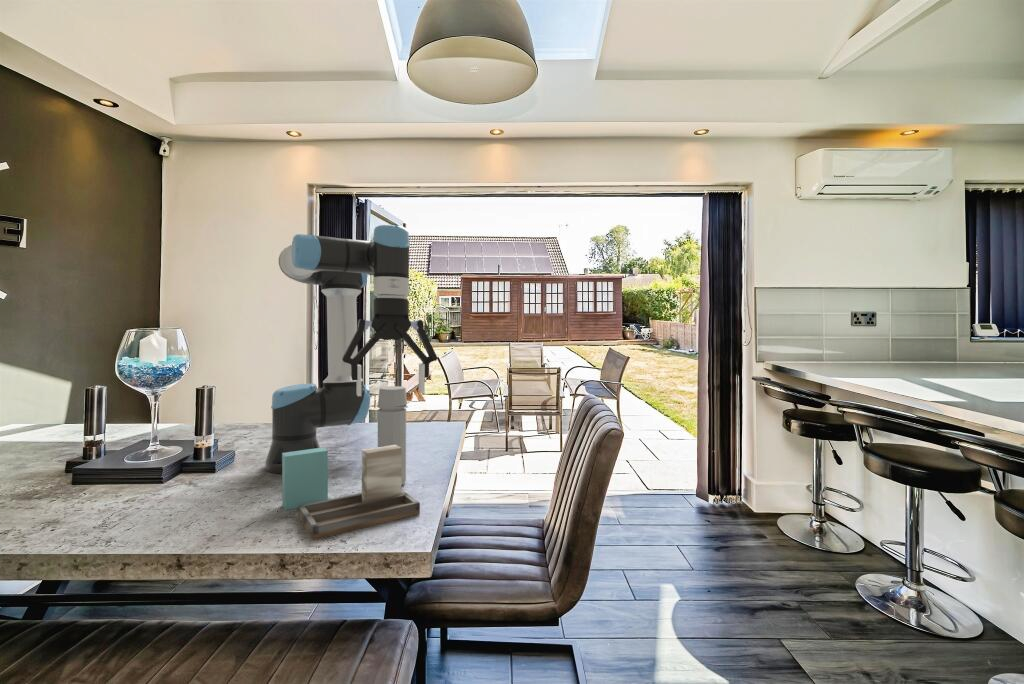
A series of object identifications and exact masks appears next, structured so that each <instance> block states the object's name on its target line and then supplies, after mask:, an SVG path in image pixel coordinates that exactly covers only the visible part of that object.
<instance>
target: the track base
mask: <svg viewBox="0 0 1024 684" xmlns="http://www.w3.org/2000/svg"><path fill="white" fill-rule="evenodd" d="M401 461H402V448H401V447H399V446H397V445H390V446H384V447H378V446H377V447H372V448H371V447H370V448H364V449H361V492H359V493H355V494H351V495H350V494H349V495H344V496H339V497H334V498H330V499H329V498H328V500H324V501H319V502H314V503H309V504H304V505H299V506H298V508H297V510H298V511H297V512H298V515H297V517H298V520H299V521H300V522H301V524H302V525H303V526H304V528H305V529H306V532H307V533H308V534H309V535H310V536H309V537H310V538H311V539H312V540H313V541H315V540H318V539H319V540H320V539H323V538H326V537H331V536H336V535H340V534H343V533H347V532H351V531H357V530H359V529H364V528H368V527H373V526H375V525H380V524H383V523H384V524H385V523H388V522H389V523H390V522H393V521H396V520H397V521H398V520H401V519H405V518H409V517H414V516H416V515H420V514H421V503H420V502H419V501H418V500H417V499H415V498H414V497H413V496H412V495H410V494H409V493H407V492H406V491H405V490H403V489H402V485H401Z"/></svg>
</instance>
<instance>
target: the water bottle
mask: <svg viewBox="0 0 1024 684" xmlns="http://www.w3.org/2000/svg"><path fill="white" fill-rule="evenodd" d="M407 398H408V397H407V389H406V387H405V386H400V385H398V386H397V385H395V386H391V385H390V386H382V387H379V391H378V401H377V405H376V408H378V410H377V447H384V446H390V445H397V446H399V447H401V448H402V461H401V486H404V484H405V483H406V481H407V408H408V407H409V406H408V405H407V404H408V399H407Z"/></svg>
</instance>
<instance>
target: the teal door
mask: <svg viewBox="0 0 1024 684" xmlns="http://www.w3.org/2000/svg"><path fill="white" fill-rule="evenodd" d="M328 453H329V451H328V449H326V448H325V447H320V448H315V449H308V450H300V451H293V452H286V453H282V473H281V475H282V478H281V479H282V480H281V481H282V485H281V487H282V490H281V491H282V496H281V497H282V498H281V499H282V501H281V502H282V505H281V506H283V509H284V511H289V510H295V509H298V506H299V505H304V504H309V503H314V502H319V501H324V500H329V497H328V496H329V493H328V491H329V490H328V487H329V486H328V485H329V484H328V482H329V481H328V480H329V479H328V476H329V475H328V474H329V473H328V469H329V468H328V467H329V465H328V462H329V461H328V456H329V454H328Z"/></svg>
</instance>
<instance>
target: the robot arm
mask: <svg viewBox="0 0 1024 684" xmlns="http://www.w3.org/2000/svg"><path fill="white" fill-rule="evenodd" d="M409 234H410V233H409V230H408V229H407V228H406V227H404V226H402V225H401V226H400V225H394V224H381V225H377V226H375V227H374V229H373V237H372V240H373V241H372V240H362V239H350V238H340V237H339V238H337V237H331V236H322V235H314V234H311V233H310V234H302V233H301V234H299V233H297V234H295V235H294V236H293V237H292V243H291V245H289V246H287V247H285V248H284V249H282V251H281V252H280V253H279V256H278V266H279V269H280V270H281V272H282V274H284V276H286V277H288V278H289V279H290V280H292V281H296V282H299V283H302V284H306V285H316V286H318V285H319V286H320V290H321V293H322V294H323V296H325V297H326V324H327V326H326V327H327V328H326V329H327V330H326V331H327V332H326V333H327V373H328V375H327V377H326V378H325V379H324V380H323V381H322V387H318V386H317V385H316V384H315V383H314V382H313V383H312V382H310V383H308V382H307V383H300V384H293V385H289V386H288V385H287V386H284V387H281V388H278V389H276V390H275V391H274V392H273V393H272V398H271V406H270V407H271V411H272V413H271V416H272V418H271V419H272V420H271V421H272V422H271V425H272V426H271V427H272V428H271V431H272V432H271V435H272V437H271V439H272V440H271V444H270V447H269V450H268V453H267V456H266V459H265V462H264V463H265V471H266V472H269V473H273V474H282V453H286V452H293V451H300V450H308V449H315V448H321V447H320V444H319V441H318V439H317V429H319V428H327V427H329V428H330V427H336V426H337V427H338V426H351V425H355V424H361V423H362V422H364V421H365V420H366V419H367V417H368V414H369V410H370V406H371V394H370V391H371V390H370V388H369V385H366V384H364V379H363V378H362V365H361V364H359V363H360V362H361V361H362V359H364V357H366V355H367V354H368V353H369V352H370V350H371V349H372V348H373V347H374V346H375V345H376V343H378V341H380V340H383V341H390V340H394V341H399V340H401V339H402V340H403V341H404V342H405V344H406V345H408V347H409V348H410V350H412V352H414V354H415V355H416V357H418V358H419V360H420V361H421V362H420V363H418V392H419V393H420V394H425V383H426V382H425V379H426V378H427V379H428V378H429V376H430V364H431V363H432V362H436V361H438V356H437V354H436V352H435V349H434V348H433V345H432V343H431V341H430V339H429V337H428V335H427V334H426V331H425V327H424V321H423V319H417V320H413V321H410V314H409V313H410V311H409V310H410V309H409V307H410V301H409V299H408V298H407V297H409V295H410V293H409V291H410V289H409V287H410V286H409V285H410V282H409V281H410V275H409V274H410V246H411V244H410V236H409ZM368 275H369V276H373V296H375V298H374V299H373V318H372V320H367V319H366V320H365V319H364V318H362V319H361V318H360V319H358V318H357V317H358V316H357V315H358V313H357V299H358V298H357V297H358V296H359V295H360V294H361V293H362V288H365V287H366V286H367V283H368ZM369 327H371V328H372V329H373V330H374V332H375V333H373V335H372V336H371V337H370V339H368V341H367V342H366V343H365V344H364V345H363V347H362V348H360V350H359V351H358V344H359V342H360V341H361V338H362V336H363V335H364V333H365V331H366V330H368V329H369ZM411 327H413V330H414V331H416V333H417V336H418V337H419V339H420V341H421V344H422V345H423V347H424V349H425V352H426V353H427V355H428V356H427V355H426V354H425V353H424V351H422V349H421V348H420V347H419V346H418V344H417V343H416V342H415V341H414V340H413V338H412V337H411V336H410V335H409V333H408V331H409V329H410V328H411Z"/></svg>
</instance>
